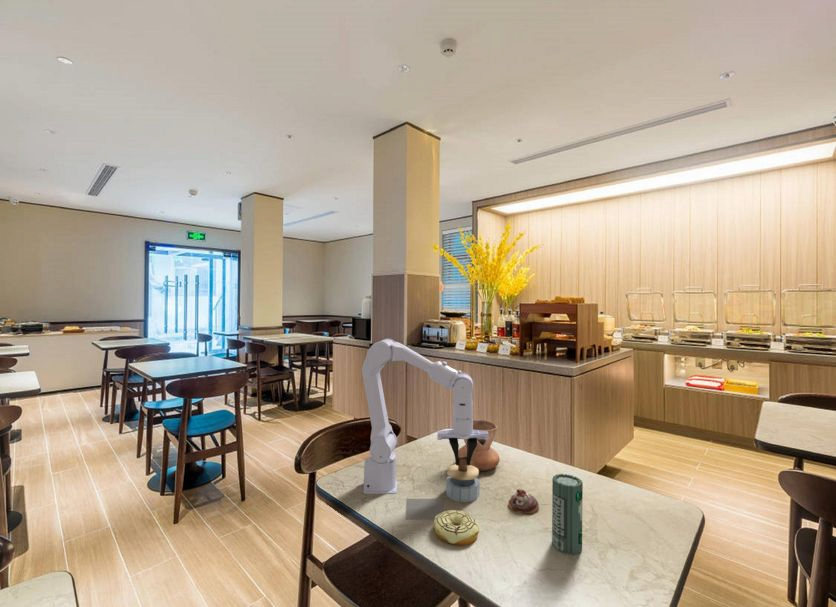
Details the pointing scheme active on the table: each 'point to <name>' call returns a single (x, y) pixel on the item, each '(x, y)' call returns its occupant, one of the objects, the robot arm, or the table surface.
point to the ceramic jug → (482, 447)
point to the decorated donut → (456, 527)
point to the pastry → (523, 503)
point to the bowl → (462, 489)
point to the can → (567, 513)
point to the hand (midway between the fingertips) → (462, 464)
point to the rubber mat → (424, 508)
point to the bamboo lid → (462, 470)
